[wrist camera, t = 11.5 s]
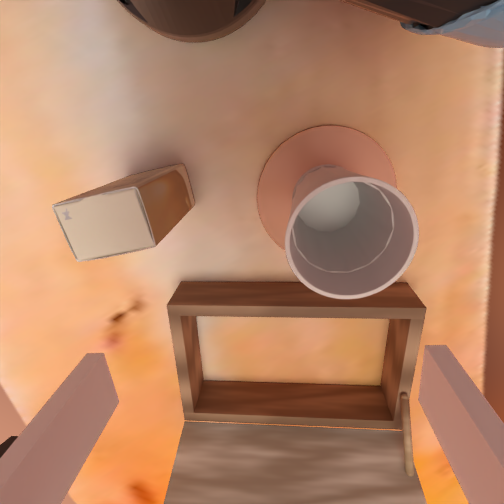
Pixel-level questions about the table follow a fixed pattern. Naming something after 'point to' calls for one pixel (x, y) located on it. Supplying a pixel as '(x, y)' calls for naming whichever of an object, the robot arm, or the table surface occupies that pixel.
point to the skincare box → (125, 213)
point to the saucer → (311, 155)
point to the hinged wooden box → (294, 408)
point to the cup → (348, 233)
